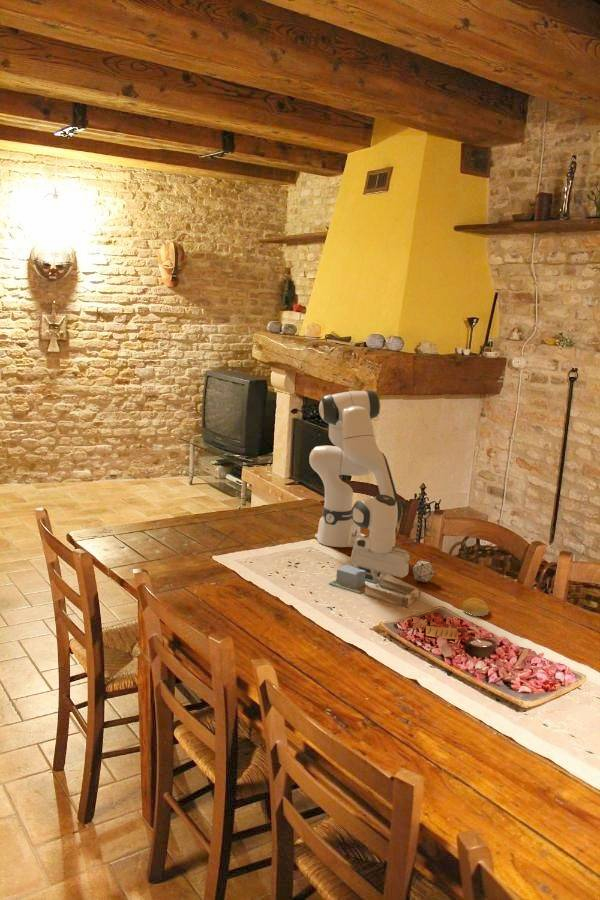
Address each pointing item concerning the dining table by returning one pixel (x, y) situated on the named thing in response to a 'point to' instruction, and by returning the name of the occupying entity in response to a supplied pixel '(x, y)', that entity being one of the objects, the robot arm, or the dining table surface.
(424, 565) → the game die
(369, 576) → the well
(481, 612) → the bread roll
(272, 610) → the dining table surface
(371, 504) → the robot arm
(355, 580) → the block
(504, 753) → the dining table surface
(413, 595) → the beige c-shaped frame
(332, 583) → the frame
